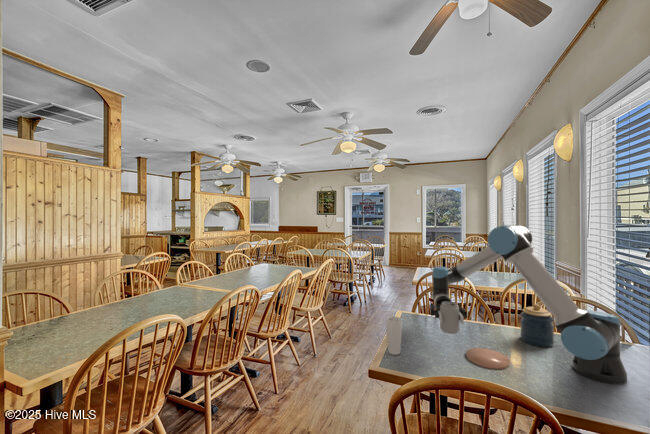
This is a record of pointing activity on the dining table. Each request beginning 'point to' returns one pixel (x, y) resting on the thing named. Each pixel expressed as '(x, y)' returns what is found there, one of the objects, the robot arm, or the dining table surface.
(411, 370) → the dining table surface
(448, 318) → the can
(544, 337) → the canister
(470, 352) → the terracotta plate
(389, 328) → the drinking glass
